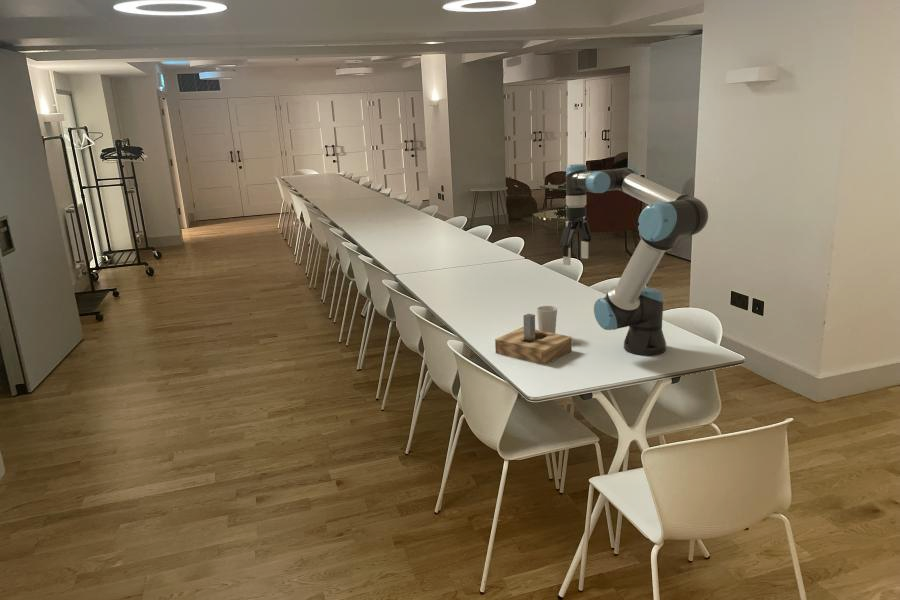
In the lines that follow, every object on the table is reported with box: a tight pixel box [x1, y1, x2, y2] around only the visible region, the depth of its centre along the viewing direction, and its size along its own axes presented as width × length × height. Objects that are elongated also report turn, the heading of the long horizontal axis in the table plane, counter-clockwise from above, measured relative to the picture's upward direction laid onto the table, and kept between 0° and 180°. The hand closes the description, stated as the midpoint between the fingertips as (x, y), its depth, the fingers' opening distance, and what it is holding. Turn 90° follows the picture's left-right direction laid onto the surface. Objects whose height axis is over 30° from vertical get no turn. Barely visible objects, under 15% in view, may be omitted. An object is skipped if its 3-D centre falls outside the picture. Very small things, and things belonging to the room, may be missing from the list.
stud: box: [523, 313, 536, 343], centre depth 244 cm, size 5×5×15 cm
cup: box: [536, 305, 558, 333], centre depth 262 cm, size 8×8×12 cm
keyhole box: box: [494, 326, 573, 366], centre depth 247 cm, size 22×18×6 cm
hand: (575, 261), depth 254 cm, fingers open, 13 cm apart
